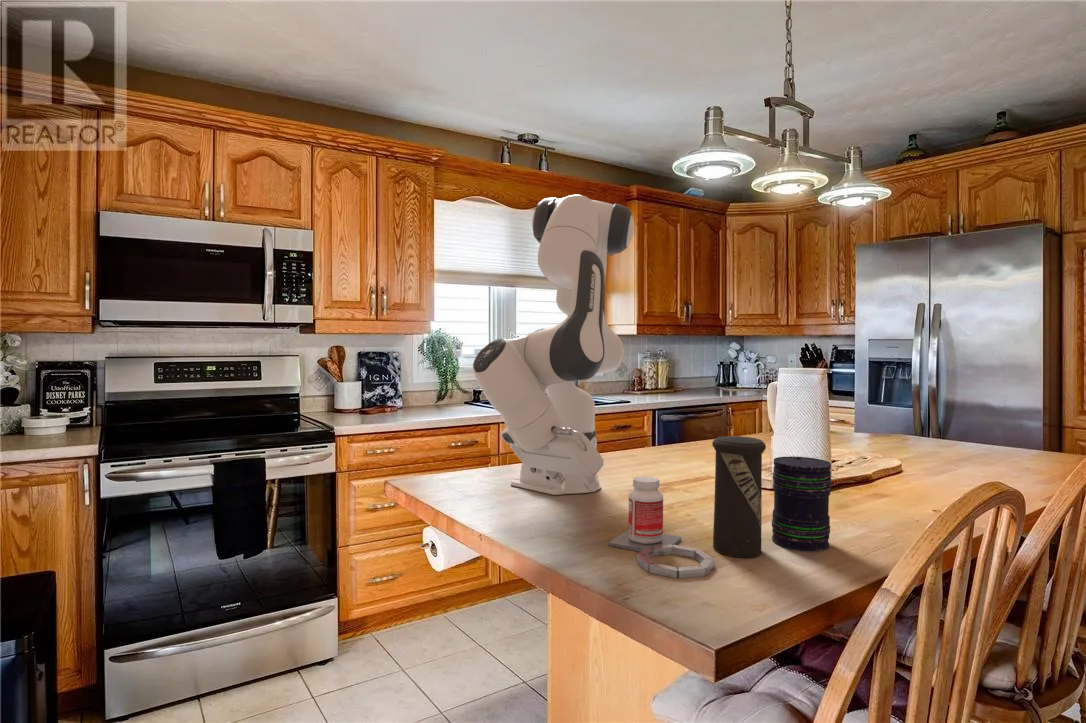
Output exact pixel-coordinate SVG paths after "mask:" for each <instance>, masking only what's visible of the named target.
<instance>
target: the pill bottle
mask: <svg viewBox="0 0 1086 723" xmlns="http://www.w3.org/2000/svg"><path fill="white" fill-rule="evenodd" d="M632 486H633V489H632V490H631V491H629V494H628V529H627V530H629V531H628V534H629V538H630V539H631V540H632V541H634V542H637V543H641V544H654V543H658V542H660V541H662V539H663V534H664V494H663V493H662V492H661V490H659V488H660V479H659V478H658V477H654V476H636V477H633V479H632Z"/></svg>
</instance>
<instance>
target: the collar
mask: <svg viewBox="0 0 1086 723" xmlns="http://www.w3.org/2000/svg"><path fill="white" fill-rule="evenodd" d="M659 552H664V556H666V555H667V556H668V555H675V556H681V557H687V558H693V559H695V560H696V561H697V562H699V565H691V566H689V565H688V566H679V567H676V566H672V565H669V564H668V565H667V564H663V563H657V562H655V561H654V560H652V558H653V557H654V556H656V557H658V556H659ZM636 563H637V564H638V565H639V566H641V568H643V570H645V571H646V572H647V573H649V574H654V575H659V576H664V577H668V578H672V579H687V578H688V579H689V578H698V577H699V578H700V577H705V576H707V575H708V574H710V572H711V571H712V569H713V568H715V558H714V557H712V556H711V555H709V554H708V553H706V551H705V552H704V551H703V550H702V549H699V548H696V547H695V548H694V547H690V546H683V545H678V544H676V545H672V544H671V545H659V546H648V547H646V548H644V549H643V550H642V551H641V552H638V553H637V554H636Z"/></svg>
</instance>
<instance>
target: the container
mask: <svg viewBox="0 0 1086 723" xmlns="http://www.w3.org/2000/svg"><path fill="white" fill-rule="evenodd" d="M711 444H712V447H713V449H714V450H715V458H714V459H715V466H714V468H715V469H714V470H715V471H714V472H715V473H714V474H715V475H714V477H715V478H714V505H713V506H714V509H713V534H712V535H713V536H712V546H713V547H712V548H713V550H715V551H717V552H719V553H721V554H724V555H726V556H730V557H736V558H754V557H758V556H760V554H761V553H762V508H763V506H762V496H763V495H762V492H763V490H762V488H763V487H762V481H763V480H762V475H763V474H762V473H763V472H762V469H763V467H762V466H763V465H762V464H763V463H762V462H763V461H762V460H763V458H762V457H763V453H764V452H765V451H766V449H767V446H766V443H765V442H764V441H763V440H761V439H760V438H757V437H752V436H751V437H750V436H741V435H740V436H738V435H734V436H733V435H731V436H730V435H727V436H724V435H723V436H718V437H716V438H714V439H713V440H712V443H711Z"/></svg>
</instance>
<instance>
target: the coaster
mask: <svg viewBox="0 0 1086 723" xmlns="http://www.w3.org/2000/svg"><path fill="white" fill-rule="evenodd" d="M628 531H629V530H628V529H627V530H625V531H624V532H623V533H621V534H620V535H618V536H616V537H615V538H613V539H612V540H611V541H609V542H608V546H609V545H610V546H609V547H612V546H615V547H614V548H618V547H620V548H619V549H623V548H625V549H624V550H628V549H629V550H630V551H633V550H634V551H633V552H638V551H639V552H641V551H642V550H643V549H644V548H646V547H648V546H659V545H671V544H672V545H678V544H679V543H680V542H681V541H682V536H680V535H674V534H667V533H663V539H662V541H660V542H658V543H654V544H641V543H637V542H634V541H632V540H631V539H630V538H629V534H628ZM639 552H638V553H639ZM658 556H661V557H664V556H665V555H664V552H659V555H658Z"/></svg>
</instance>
